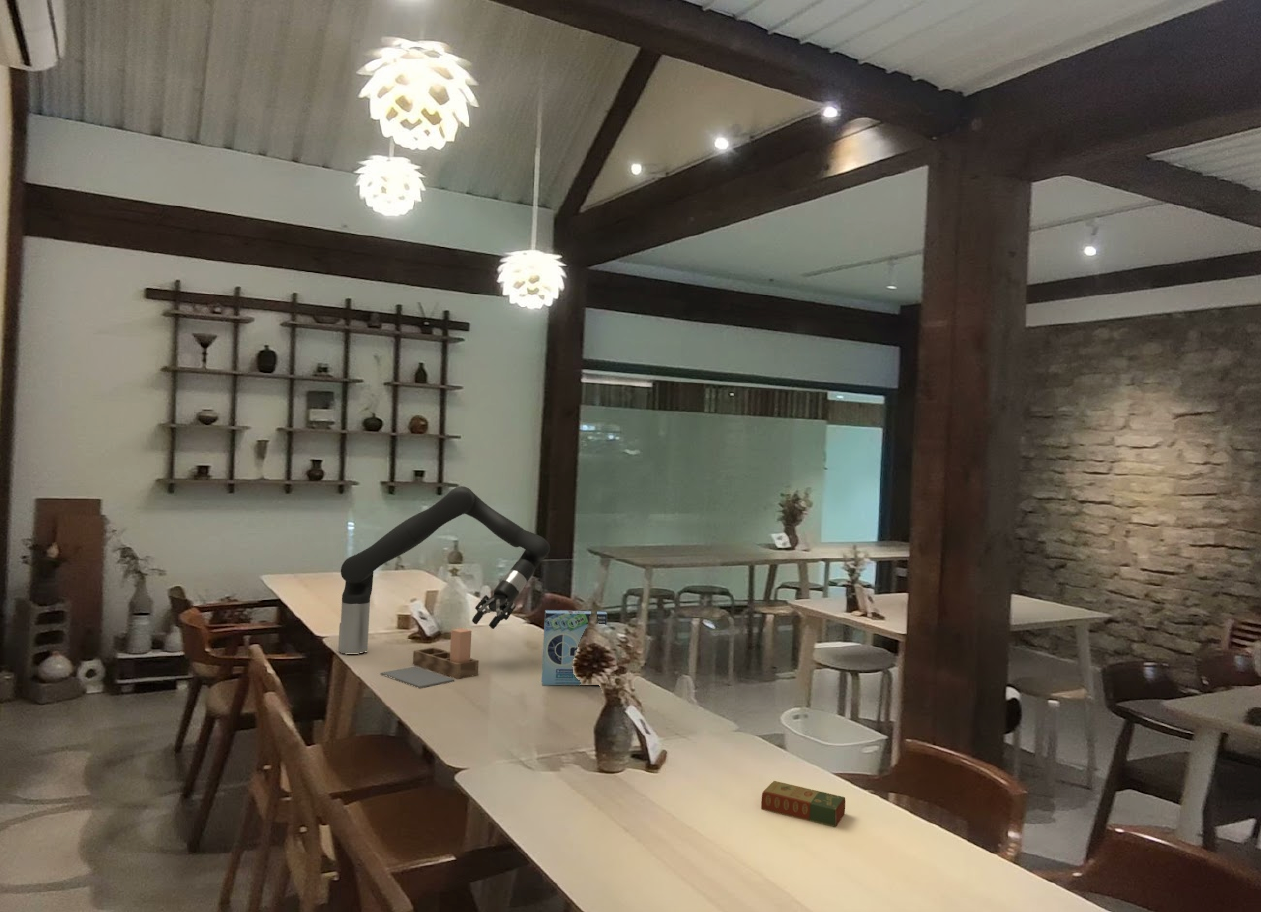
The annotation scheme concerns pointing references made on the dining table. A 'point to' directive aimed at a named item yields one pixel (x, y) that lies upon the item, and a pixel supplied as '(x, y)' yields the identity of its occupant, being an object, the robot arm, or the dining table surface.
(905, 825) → the dining table surface
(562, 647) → the gum box
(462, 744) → the dining table surface
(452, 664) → the stand
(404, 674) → the mat
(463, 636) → the block
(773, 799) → the carton
